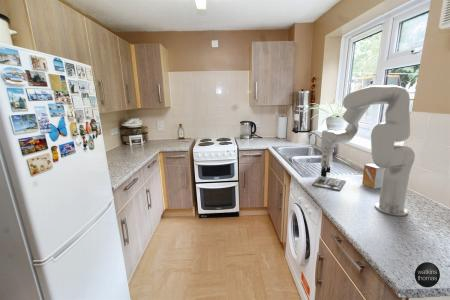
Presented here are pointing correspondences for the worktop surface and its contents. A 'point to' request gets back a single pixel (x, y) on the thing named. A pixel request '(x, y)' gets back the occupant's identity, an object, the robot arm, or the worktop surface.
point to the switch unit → (328, 184)
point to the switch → (333, 181)
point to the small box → (372, 176)
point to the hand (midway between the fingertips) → (325, 174)
